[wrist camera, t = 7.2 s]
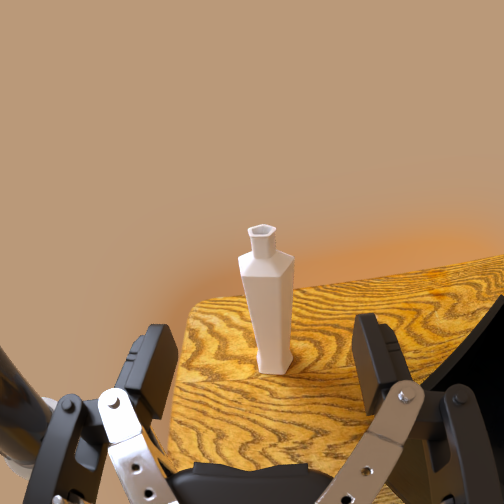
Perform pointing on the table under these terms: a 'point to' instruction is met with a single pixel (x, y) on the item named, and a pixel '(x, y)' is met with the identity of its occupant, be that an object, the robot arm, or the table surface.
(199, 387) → the table surface
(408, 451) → the open box
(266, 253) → the perfume bottle
